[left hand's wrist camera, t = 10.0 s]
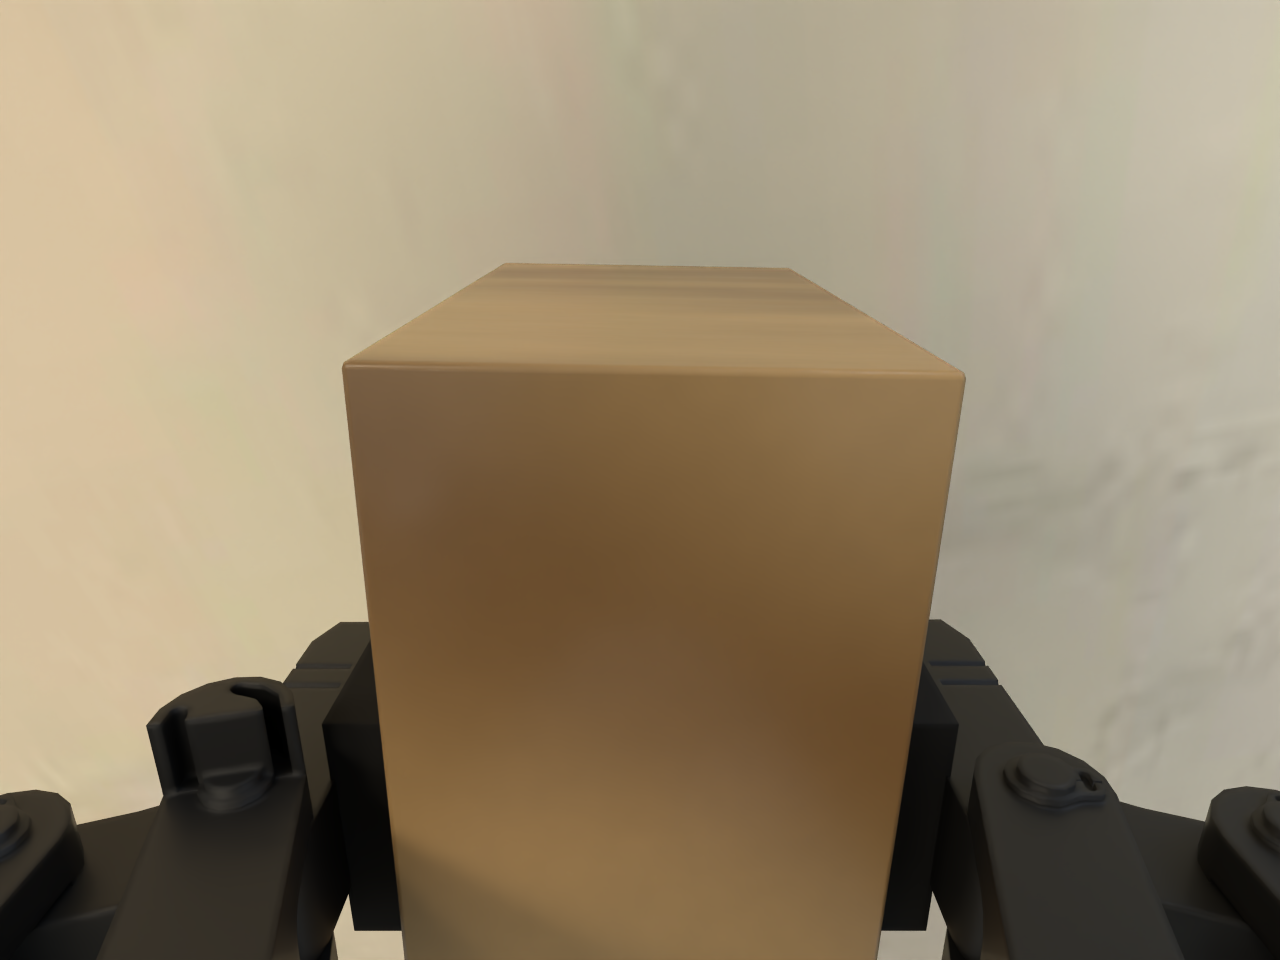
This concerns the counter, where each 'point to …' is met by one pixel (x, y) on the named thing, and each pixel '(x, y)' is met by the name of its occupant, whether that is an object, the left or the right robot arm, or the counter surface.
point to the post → (647, 609)
